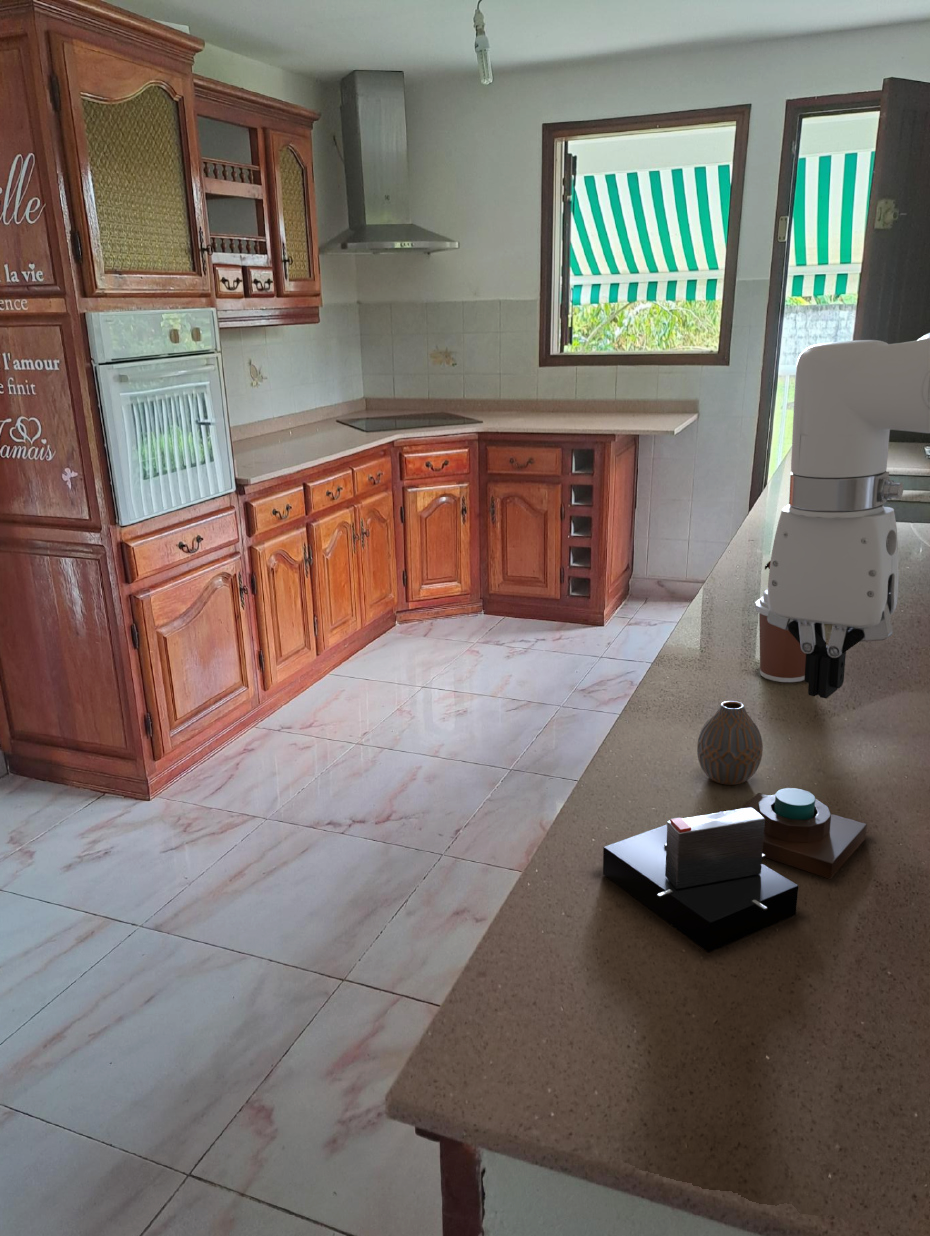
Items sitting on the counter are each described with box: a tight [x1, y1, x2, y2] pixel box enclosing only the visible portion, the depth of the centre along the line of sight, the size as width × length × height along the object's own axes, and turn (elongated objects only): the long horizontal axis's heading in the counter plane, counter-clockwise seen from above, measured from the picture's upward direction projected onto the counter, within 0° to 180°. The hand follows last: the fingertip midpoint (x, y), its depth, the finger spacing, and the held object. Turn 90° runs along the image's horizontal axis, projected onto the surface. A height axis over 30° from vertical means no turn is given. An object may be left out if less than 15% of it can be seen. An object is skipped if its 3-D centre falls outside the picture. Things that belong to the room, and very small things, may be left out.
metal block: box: [665, 807, 765, 889], centre depth 83 cm, size 8×2×6 cm, turn 103°
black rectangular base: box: [602, 824, 800, 953], centre depth 86 cm, size 15×12×3 cm
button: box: [774, 787, 816, 820], centre depth 93 cm, size 4×4×2 cm
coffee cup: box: [754, 588, 806, 683], centre depth 134 cm, size 9×9×12 cm
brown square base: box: [740, 792, 868, 880], centre depth 94 cm, size 11×9×4 cm
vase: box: [696, 700, 764, 786], centre depth 106 cm, size 7×7×9 cm
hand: (823, 692), depth 88 cm, fingers closed
